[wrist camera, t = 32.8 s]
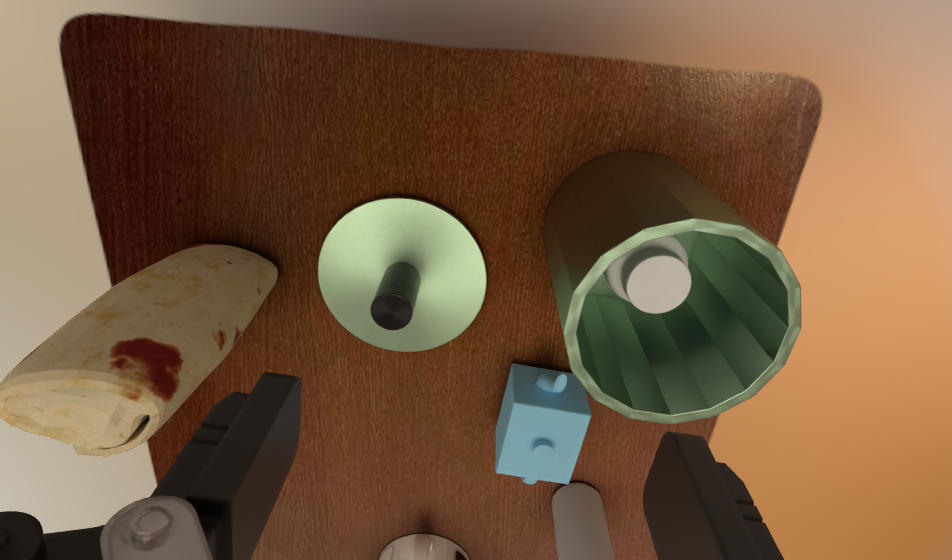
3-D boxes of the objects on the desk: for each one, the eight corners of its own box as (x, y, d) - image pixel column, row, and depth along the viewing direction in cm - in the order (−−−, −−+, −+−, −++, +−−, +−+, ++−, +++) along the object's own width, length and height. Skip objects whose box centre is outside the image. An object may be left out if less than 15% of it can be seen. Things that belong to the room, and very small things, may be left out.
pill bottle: (610, 276, 47) (637, 339, 38) (576, 222, 45) (596, 275, 36) (673, 240, 46) (717, 297, 37) (641, 183, 44) (678, 229, 35)
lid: (325, 180, 45) (299, 207, 39) (500, 208, 45) (501, 239, 39) (317, 332, 50) (294, 376, 44) (473, 355, 51) (470, 402, 45)
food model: (281, 230, 47) (145, 373, 28) (290, 306, 49) (172, 480, 31) (158, 226, 47) (-56, 366, 29) (174, 302, 50) (-11, 473, 31)
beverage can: (609, 487, 57) (636, 602, 46) (587, 522, 59) (609, 639, 48) (562, 473, 56) (579, 585, 45) (542, 508, 58) (554, 624, 47)
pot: (562, 137, 43) (595, 201, 29) (728, 164, 43) (840, 241, 29) (529, 289, 48) (544, 406, 34) (678, 312, 49) (752, 437, 35)
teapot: (520, 323, 49) (524, 374, 43) (590, 335, 50) (606, 388, 43) (492, 435, 55) (492, 497, 48) (556, 446, 55) (565, 508, 48)
